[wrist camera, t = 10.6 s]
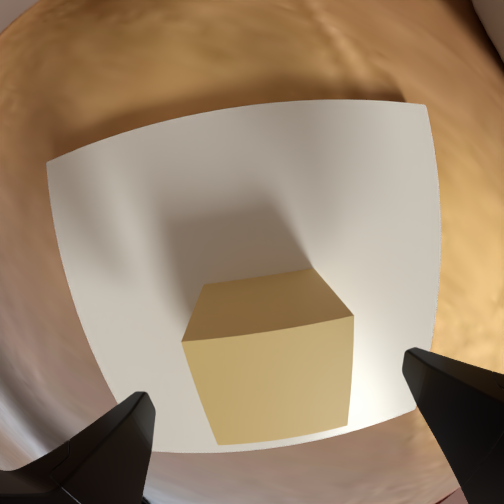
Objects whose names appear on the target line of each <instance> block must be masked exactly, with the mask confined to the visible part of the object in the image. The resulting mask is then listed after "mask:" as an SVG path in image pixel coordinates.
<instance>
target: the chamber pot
mask: <svg viewBox="0 0 504 504" xmlns="http://www.w3.org/2000/svg"><path fill="white" fill-rule="evenodd" d="M471 2H472V5H473V7H474V10H475V12H476V13H477V15H478V17H479V19H480V21H481V23H482V24H483V26H484V28H485V30H486V32H487V34H488V36H489V38H490V39H491V41H492V42H493V44H494V46H495V48H496V49H497V51H498V53H499V55H500V57H501V58H502V60H503V62H504V0H471Z"/></svg>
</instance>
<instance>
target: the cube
mask: <svg viewBox="0 0 504 504" xmlns="http://www.w3.org/2000/svg"><path fill="white" fill-rule="evenodd" d="M181 343H182V346H183V350H184V353H185V356H186V359H187V362H188V366H189V369H190V372H191V375H192V378H193V381H194V384H195V386H196V389H197V392H198V395H199V398H200V401H201V403H202V406H203V409H204V411H205V414H206V417H207V419H208V422H209V424H210V427H211V429H212V432H213V434H214V437H215V439H216V442H217V444H218V445H234V444H247V443H257V442H265V441H273V440H280V439H287V438H293V437H298V436H304V435H309V434H314V433H318V432H323V431H327V430H332V429H336V428H340V427H343V426H347V424H348V415H349V406H350V395H351V383H352V368H353V347H354V315H353V313H352V312H351V311H350V310H349V309H348V308H347V306H346V305H345V304H344V303H343V302H342V300H341V299H340V298H339V297H338V296H337V295H336V293H335V292H334V291H333V290H332V289H331V288H330V286H329V285H328V284H327V283H326V282H325V281H324V279H323V278H322V277H321V276H320V275H319V274H318V273H317V271H316V270H315V269H314V268H311V269H305V270H299V271H292V272H286V273H280V274H273V275H266V276H260V277H253V278H246V279H240V280H233V281H226V282H218V283H211V284H204V285H203V287H202V290H201V292H200V295H199V297H198V300H197V302H196V305H195V307H194V310H193V312H192V315H191V317H190V320H189V323H188V325H187V328H186V330H185V333H184V336H183V338H182V341H181Z"/></svg>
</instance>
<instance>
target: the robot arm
mask: <svg viewBox="0 0 504 504" xmlns="http://www.w3.org/2000/svg"><path fill="white" fill-rule="evenodd" d="M402 373H403V376H404V378H405V380H406V382H407V385H408V387H409V389H410V391H411V394H412V396H413V398H414V400H415V403H416V405H417V407H418V408H419V410H420V412H421V414H422V415H423V417H424V419H425V420H426V422H427V424H428V426H429V428H430V429H431V431H432V433H433V435H434V436H435V438H436V440H437V442H438V444H439V446H440V447H441V449H442V451H443V453H444V455H445V457H446V459H447V461H448V463H449V464H450V466H451V468H452V470H453V472H454V474H455V476H456V478H457V480H458V482H459V484H460V486H461V489H462V491H463V493H464V495H465V497H466V500H467V502H468V504H504V374H500V373H497V372H492V371H490V370H487V369H483V368H480V367H477V366H473V365H470V364H467V363H464V362H461V361H457V360H454V359H451V358H448V357H445V356H442V355H439V354H436V353H433V352H429V351H426V350H423V349H420V348H417V347H413V348H410V349H407V350H406V351H405V353H404V358H403V365H402ZM155 416H156V410H155V407H154V405H153V403H152V401H151V399H150V397H149V395H148V393H147V392H145V391H136V392H134V393H133V394H131V395H130V396H129V397H127V398H126V399H125V400H123V401H122V402H121V403H119V404H118V405H117V406H115V407H114V408H113V409H111V410H110V411H109V412H107V413H106V414H104V415H103V416H102V417H100V418H99V419H98V420H96V421H95V422H93V423H92V424H91V425H89V426H88V427H86V428H85V429H84V430H82V431H81V432H79V433H78V434H77V435H75V436H74V437H72V438H71V439H70V441H69V440H68V441H66V442H65V443H64V444H62V445H61V446H59V447H58V448H56V449H55V450H53V451H51V452H50V453H48V454H46V455H44V456H42V457H41V458H39V459H37V460H35V461H33V462H31V463H29V464H27V465H25V466H23V467H21V468H19V469H16V470H12V471H3V470H0V504H148V503H147V502H146V501H145V500H144V499H143V498H142V495H143V490H144V485H145V480H146V475H147V470H148V465H149V461H150V456H151V451H152V445H153V435H154V425H155Z"/></svg>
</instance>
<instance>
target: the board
mask: <svg viewBox="0 0 504 504" xmlns="http://www.w3.org/2000/svg"><path fill="white" fill-rule="evenodd" d="M46 166H47V178H48V187H49V195H50V202H51V209H52V215H53V221H54V227H55V232H56V237H57V242H58V246H59V250H60V255H61V259H62V263H63V267H64V271H65V274H66V278H67V281H68V285H69V288H70V291H71V295H72V298H73V301H74V304H75V307H76V310H77V313H78V316H79V318H80V321H81V324H82V327H83V329H84V332H85V334H86V337H87V339H88V342H89V344H90V347H91V349H92V351H93V354H94V356H95V358H96V361H97V363H98V365H99V367H100V369H101V371H102V374H103V376H104V378H105V380H106V382H107V384H108V386H109V388H110V390H111V392H112V394H113V395H114V397H115V399H116V401H117V403H118V404H119V403H121V402H122V401H123V400H125V399H126V398H127V397H129V396H130V395H131V394H133V393H134V392H136V391H145V392H147V393H148V395H149V397H150V399H151V401H152V403H153V405H154V407H155V410H156V416H155V425H154V435H153V445H152V451H158V452H176V453H219V452H237V451H249V450H259V449H268V448H275V447H282V446H288V445H294V444H300V443H305V442H310V441H315V440H320V439H324V438H328V437H332V436H336V435H340V434H344V433H348V432H351V431H355V430H358V429H362V428H365V427H368V426H371V425H374V424H377V423H380V422H383V421H386V420H389V419H391V418H394V417H397V416H399V415H402V414H404V413H407V412H409V411H412V410H414V409H415V408H416V403H415V400H414V398H413V396H412V394H411V391H410V389H409V387H408V385H407V382H406V380H405V378H404V376H403V373H402V365H403V358H404V353H405V351H406V350H407V349H410V348H413V347H417V348H420V349H423V350H426V351H429V352H430V348H431V342H432V337H433V331H434V324H435V317H436V310H437V301H438V291H439V279H440V261H441V213H440V195H439V183H438V173H437V165H436V157H435V150H434V144H433V138H432V132H431V127H430V122H429V117H428V113H427V108H426V105H421V104H412V103H403V102H391V101H376V100H303V101H288V102H275V103H265V104H256V105H248V106H241V107H234V108H227V109H221V110H215V111H209V112H204V113H199V114H194V115H189V116H185V117H180V118H176V119H171V120H167V121H163V122H159V123H155V124H152V125H148V126H144V127H141V128H137V129H134V130H131V131H127V132H124V133H121V134H118V135H115V136H112V137H109V138H106V139H103V140H100V141H97V142H94V143H92V144H89V145H86V146H84V147H81V148H79V149H76V150H74V151H71V152H69V153H66V154H64V155H62V156H59V157H57V158H55V159H52V160H50V161H48V162H46ZM311 268H314V269H315V270H316V271H317V273H318V274H319V275H320V276H321V277H322V278H323V279H324V281H325V282H326V283H327V284H328V285H329V286H330V288H331V289H332V290H333V291H334V292H335V293H336V295H337V296H338V297H339V298H340V299H341V300H342V302H343V303H344V304H345V305H346V306H347V308H348V309H349V310H350V311H351V312H352V313H353V315H354V347H353V368H352V383H351V395H350V406H349V415H348V424H347V426H343V427H340V428H336V429H332V430H327V431H323V432H318V433H314V434H309V435H304V436H298V437H293V438H287V439H280V440H273V441H265V442H257V443H247V444H234V445H218V444H217V442H216V439H215V437H214V434H213V432H212V429H211V427H210V424H209V422H208V419H207V417H206V414H205V411H204V409H203V406H202V403H201V401H200V398H199V395H198V392H197V389H196V386H195V384H194V381H193V378H192V375H191V372H190V369H189V366H188V362H187V359H186V356H185V353H184V350H183V346H182V343H181V341H182V338H183V336H184V333H185V330H186V328H187V325H188V323H189V320H190V317H191V315H192V312H193V310H194V307H195V305H196V302H197V300H198V297H199V295H200V292H201V290H202V287H203V285H204V284H211V283H218V282H226V281H233V280H240V279H246V278H253V277H260V276H266V275H273V274H280V273H286V272H292V271H299V270H305V269H311Z"/></svg>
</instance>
